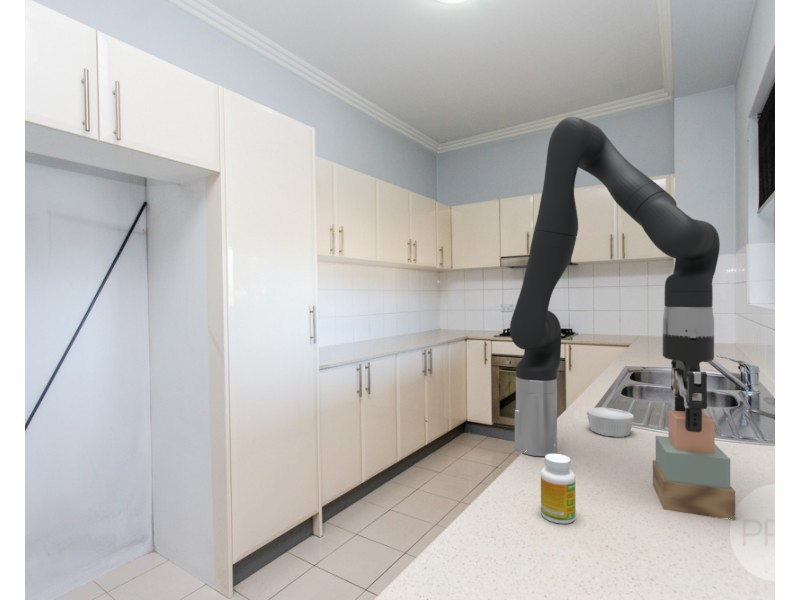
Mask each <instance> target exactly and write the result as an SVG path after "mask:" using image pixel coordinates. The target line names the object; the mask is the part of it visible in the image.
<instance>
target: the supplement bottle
mask: <svg viewBox="0 0 800 600" xmlns="http://www.w3.org/2000/svg"><path fill="white" fill-rule="evenodd" d="M571 461H572V460H571V458H570V457H569V456H568V455H564V454H561V453H556V454H547V455H546V456H544V466H545V467H543V468H542V469H541V471H540V513H541V516H542V517H543V518H544V519H546V521H550V522H551V523H556V524H565V525H566V524H571V523H573V522H574V521H575V519H576V475H575V473H574V472H573V470H571V469H572V468H571V467H572V466H571V465H572V464H571V463H572V462H571Z"/></svg>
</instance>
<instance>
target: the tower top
mask: <svg viewBox="0 0 800 600" xmlns="http://www.w3.org/2000/svg"><path fill="white" fill-rule="evenodd" d="M655 461H656V463H657V465H658V467H659V469H660V471H661V473H662V474H663V476H664V478H665V480H666V481H668V482H676V483H683V484H691V485H699V486H706V487H714V488H721V489H729V490H730V486H731V459H730V457H729V456H728V455H727V454H726V453H725V452H724V451H723V450H722V449H720V447H719V446H718V445H716V444H715V454H710V453H700V452H690V451H681V450H676V449H675V447H674V446H673V445H672V444H671V442H670V441H669V436H663V435H662V436H661V435H655Z"/></svg>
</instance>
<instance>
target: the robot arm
mask: <svg viewBox="0 0 800 600" xmlns="http://www.w3.org/2000/svg"><path fill="white" fill-rule="evenodd" d="M545 163H546V164H545V171H544V178H543V186H542V192H541V196H540V202H539V206H538V207H539V208H538V212H537V213H538V214H537V218H536V222H535V226H534V229H533V234H532V239H531V243H530V247H529V248H530V249H529V254H528V255H529V256H528V258H527V263H526V267H525V272H524V275H523V282H522V285H521V288H520V292H519V295H518V298H517V301H516V304H515V307H514V309H513V312H512V313H513V314H512V316H511V320H510V323H509V324H510V325H509V335H510V339H511V341H512V342H513V343H514V345H515V346H516V347H517V348H519V349H521V350H524V353H523V356H522V358H521V359H520V361H518V363H517V364H516V366H515V367H516V368H515V409H514V451H515V452H520V453H521V454H524V455H529V456H536V457H545V456H546V455H547V454H558V414H557V413H558V391H557V390H558V389H557V388H558V386H557V385H558V381H557V380H558V370H559V368H560V365H561V358H562V357H561V352H562V350H561V348H562V327H561V326H562V325H561V323H560V320H559V318H558V317H557V315H556V314H555V313H553V312H552V311H550V310H549V307H550V302H551V298H552V295H553V292H554V290H555V288H556V286H557V284H558V283H559V281H560V279H561V278H562V276H563V275H564V273H565V271H566V270H567V267H568V266H569V264H570V261H571V259H572V257H573V253H574V251H575V250H574V249H575V246H576V242H577V239H578V238H577V237H578V234H579V233H578V232H579V218H578V210H577V205H576V199H575V184H576V183H575V182H576V177H577V173H578V169H581V170H583V171H585V172H587V173H588V174H590V175H591V176H593V177H595V179H597V180H598V181H600V183H602V185H603V186H605V188H606V189H607V192H609V194H610V196H611V197H612V199H613V200H614V202H616V204H617V206H619V207H620V209H621V210H622V211H624V212H625V213H626V214H627V215H629V217H631V219H633V220H634V221H635V223H637V224H638V225H639V226H641V228H642V230H643V232H644V233H645V234H646V235H647V236H648V239H650V241H651V242H652V243H653V245H654V246H655V247H656V248H657V249H658V250H660V251H661V252H662V253H663V254H665V255H666V256H668V257H670V258H672V259H673V258H674V259H675V260H674V268H673V272H672V274H670V275H668V276H667V278H666V280H665V283H664V310H663V316H662V356H663V358H664V359H667V360H671V363H670V364H671V375H670V376H671V385H670V390H671V391H672V395H673V397H674V411H685V428H686V430H687V431H691V432H701V431H702V413H703V410H707V409H708V408H707V407H708V395H707V394H708V392H707V391H708V384H707V383H708V382H707V381H708V379H707V377H708V374H707V372H706V371H701V366H700V363H708V362H712V361H714V359H715V317H714V310H713V309H714V308H713V303H714V302H713V289H714V288H713V280H714V275H715V273H716V268H717V264H718V260H719V254H720V236H719V232H718V230H717V229H716V228H715V226H714V225H713V224H711V223H710V222H708V221H704V220H699V219H694V218H692V217H691V216H690V215H688V214H687V213H685V212H684V211H683V210H682V209H681V208H680V207H678V205H677V201H676V200H675V198H674V197H673V196H672V195H671V194H670V193H669V192H668V191H667V190H665V189H664V188H663V187H661V186H660V185H659V184H658V183H656V182H655V181H654V180H653V179H651V178H650V177H649V176H648V175H646V174H645V173H644V172H643V171H641V170H639V169H638V168H637V167H635V166H634V165H633V164H632V163H630V161H629V160H627V159H626V158H625V157H624V155H623V154H621V153H620V151H619V150H618V149H617V148H616V146H615V145H614V144H613V143H612V141H611V139H609V138H608V136H607V135H606V134H605V133H604V131H603V130H602V129H601V128H600V127H599V126H597V125H595V124H593V123H591V122H589V121H587V120H585V119H583V118H580V117H577V116H568V117H565V118H564V119H562V120H561V121H559V122H558V123H557V125H556V126H555V127H554V128H553V130H552V133H551V136H550V138H549V141H548V147H547V154H546V162H545ZM693 398H696V400H693ZM526 450H527V451H526ZM525 451H526V452H525ZM524 452H525V453H524Z"/></svg>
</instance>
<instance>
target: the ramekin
mask: <svg viewBox="0 0 800 600" xmlns="http://www.w3.org/2000/svg"><path fill="white" fill-rule="evenodd" d="M586 415H587V419H588V423H589V425H588V426H589V429H590V430H591V431H592V432H593V431H594V432H596V433H598V434H597V435H599V434H602V435H601V436H603V435H606V436H605V437H608V436H615V437H614V438H624V437H623V436H626V437H627V435H628V436H629V435H630V434H631V430H632V427H633V426H632V425H633V422H634V419H635V417H634V416H635V415H634V414H632V413H631V412H629V411H625V410H622V409H617V408H611V407H592V408H588V409H586ZM594 432H593V433H594ZM596 433H595V434H596Z"/></svg>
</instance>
